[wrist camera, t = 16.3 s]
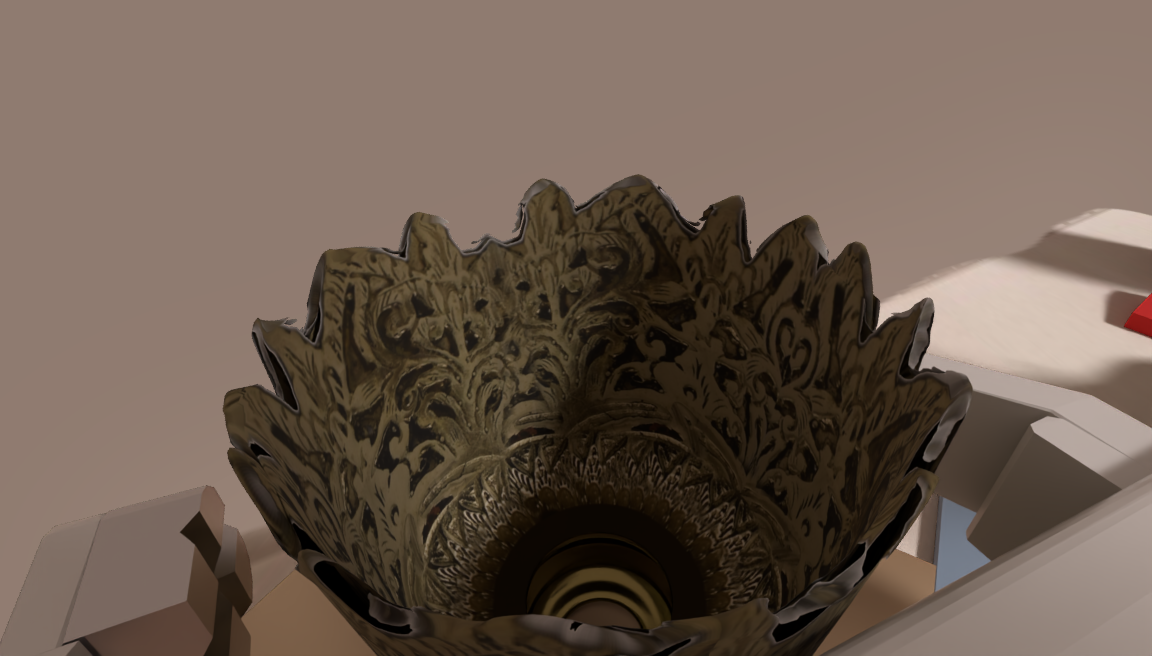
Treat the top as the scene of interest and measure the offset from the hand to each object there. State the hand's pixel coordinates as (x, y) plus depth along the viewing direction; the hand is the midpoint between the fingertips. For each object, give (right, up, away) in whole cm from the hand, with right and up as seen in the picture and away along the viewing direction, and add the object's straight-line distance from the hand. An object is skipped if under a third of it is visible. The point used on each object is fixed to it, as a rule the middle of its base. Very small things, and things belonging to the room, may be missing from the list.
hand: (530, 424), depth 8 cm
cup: (+1, -5, +3) cm, 6 cm away
